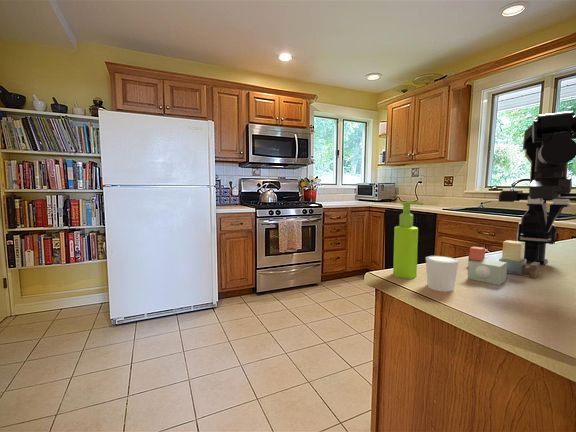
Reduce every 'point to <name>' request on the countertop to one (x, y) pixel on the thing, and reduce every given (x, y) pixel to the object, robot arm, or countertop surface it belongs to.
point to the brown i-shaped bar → (528, 269)
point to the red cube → (477, 253)
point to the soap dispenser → (405, 244)
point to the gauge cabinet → (487, 271)
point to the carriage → (513, 256)
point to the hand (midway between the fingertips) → (545, 232)
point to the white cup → (441, 272)
